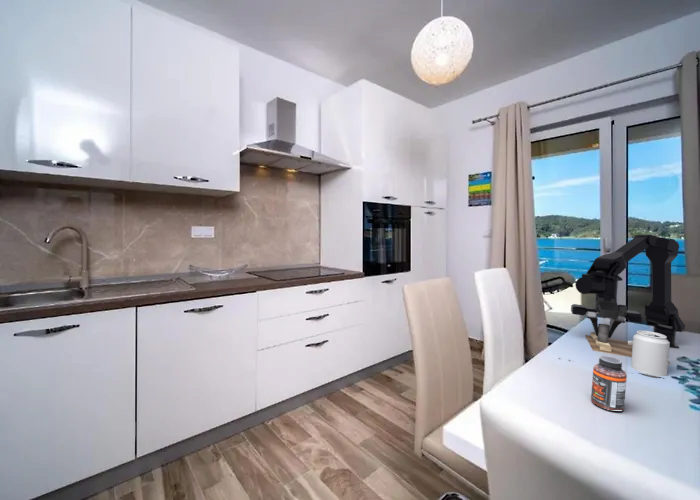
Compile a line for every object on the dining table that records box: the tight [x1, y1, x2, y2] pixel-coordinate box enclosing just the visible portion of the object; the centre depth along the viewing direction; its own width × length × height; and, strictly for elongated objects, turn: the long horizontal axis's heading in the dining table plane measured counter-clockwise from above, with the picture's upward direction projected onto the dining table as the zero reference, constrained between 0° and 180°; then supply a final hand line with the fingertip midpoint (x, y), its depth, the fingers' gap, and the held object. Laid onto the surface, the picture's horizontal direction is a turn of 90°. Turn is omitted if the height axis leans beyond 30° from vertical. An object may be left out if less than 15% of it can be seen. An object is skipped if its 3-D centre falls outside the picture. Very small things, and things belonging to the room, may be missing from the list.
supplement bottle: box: [590, 355, 628, 411], centre depth 70 cm, size 6×6×11 cm
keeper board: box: [584, 334, 672, 365], centre depth 105 cm, size 19×19×5 cm
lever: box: [590, 323, 612, 352], centre depth 109 cm, size 18×4×8 cm, turn 148°
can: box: [630, 330, 670, 379], centre depth 88 cm, size 8×8×12 cm
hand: (602, 336), depth 106 cm, fingers closed on lever, 3 cm apart
